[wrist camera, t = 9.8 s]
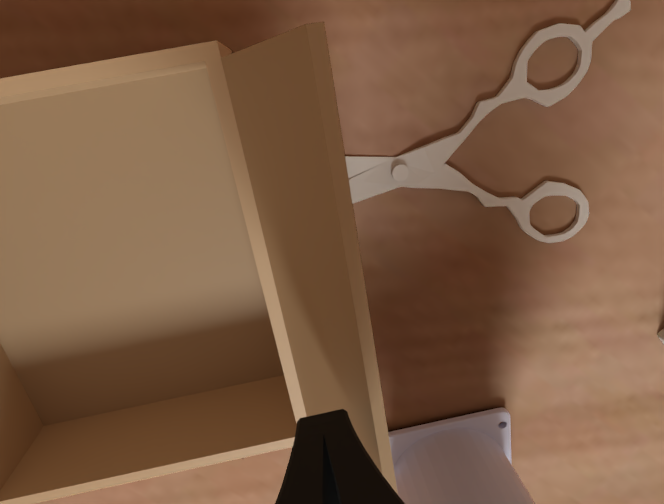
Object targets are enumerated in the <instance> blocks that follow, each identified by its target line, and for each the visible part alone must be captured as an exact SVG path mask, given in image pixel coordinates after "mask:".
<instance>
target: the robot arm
mask: <svg viewBox="0 0 664 504" xmlns="http://www.w3.org/2000/svg"><path fill="white" fill-rule="evenodd" d="M500 422H502V423H500ZM499 423H500V424H499ZM388 434H389V441H390V447H391V454H392V460H393V466H394V473H395V479H396V486H397V492H398V494H397V493H396V492H395V491H394V489H393V488H392V487H391V485H390V484H389V483H388V481H387V480H386V479H385V478H384V476H383V475H382V473H381V472H380V471H379V469H378V468H377V466H376V465H375V463H374V462H373V460H372V459H371V457H370V456H369V454H368V453H367V451H366V449H365V448H364V446H363V444H362V443H361V441H360V439H359V437H358V435H357V434H356V432H355V430H354V428H353V426H352V423H351V421H350V418H349V416H348V412H347V411H346V410H344V409H340V410H335V411H331V412H326V413H321V414H317V415H312V416H308V417H303V418H300V419H299V420H298V421H297V426H296V433H295V439H294V443H293V448H292V452H291V456H290V460H289V463H288V467H287V470H286V473H285V477H284V480H283V483H282V486H281V489H280V492H279V495H278V498H277V500H276V503H275V504H535V502H534V501H533V499H532V498H531V496H530V494H529V493H528V491H527V489H526V488H525V486H524V484H523V483H522V481H521V479H520V478H519V476H518V475H517V473H516V471H515V470H514V468H513V466H512V465H511V424H510V413H509V412H508V411H507V409H506V408H503V407H501V408H495V409H491V410H486V411H482V412H477V413H473V414H468V415H464V416H459V417H454V418H450V419H445V420H441V421H436V422H432V423H427V424H423V425H418V426H414V427H409V428H405V429H400V430H396V431H391V432H388Z"/></svg>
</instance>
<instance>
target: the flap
mask: <svg viewBox="0 0 664 504" xmlns="http://www.w3.org/2000/svg"><path fill="white" fill-rule="evenodd" d="M221 61H222V65H223V69H224V73H225V77H226V82H227V86H228V90H229V94H230V98H231V102H232V107H233V111H234V115H235V119H236V123H237V127H238V132H239V136H240V140H241V144H242V148H243V153H244V157H245V161H246V165H247V169H248V173H249V178H250V182H251V186H252V190H253V194H254V198H255V203H256V207H257V211H258V215H259V219H260V223H261V228H262V232H263V236H264V240H265V244H266V248H267V253H268V257H269V261H270V265H271V269H272V274H273V278H274V282H275V286H276V290H277V294H278V299H279V303H280V307H281V311H282V315H283V319H284V324H285V328H286V332H287V336H288V340H289V344H290V349H291V353H292V357H293V361H294V365H295V369H296V374H297V378H298V382H299V386H300V390H301V395H302V399H303V403H304V407H305V411H306V415H307V417H308V416H312V415H317V414H321V413H326V412H331V411H335V410H340V409H344V410H346V411H347V412H348V416H349V418H350V421H351V423H352V426H353V428H354V430H355V432H356V434H357V435H358V437H359V439H360V441H361V443H362V444H363V446H364V448H365V449H366V451H367V453H368V454H369V456H370V457H371V459H372V460H373V462H374V463H375V465H376V466H377V468H378V469H379V471H380V472H381V473H382V475H383V476H384V478H385V479H386V480H387V481H388V483H389V484H390V485H391V487H392V488H393V489H394V491H395V492H396V493H397V494H398V492H397V486H396V479H395V473H394V466H393V460H392V454H391V447H390V441H389V434H388V428H387V422H386V415H385V409H384V402H383V396H382V390H381V383H380V377H379V370H378V364H377V358H376V351H375V345H374V338H373V332H372V326H371V319H370V313H369V306H368V300H367V294H366V287H365V281H364V274H363V268H362V262H361V255H360V249H359V242H358V236H357V230H356V223H355V217H354V210H353V204H352V198H351V191H350V185H349V178H348V172H347V166H346V159H345V153H344V146H343V140H342V134H341V127H340V121H339V114H338V108H337V102H336V95H335V89H334V82H333V76H332V70H331V63H330V57H329V51H328V44H327V38H326V31H325V25H324V22H318V23H311V24H305V25H303V26H300V27H298V28H295V29H292V30H290V31H287V32H285V33H282V34H280V35H277V36H275V37H272V38H270V39H267V40H265V41H262V42H260V43H257V44H255V45H252V46H250V47H247V48H245V49H242V50H240V51H237V52H235V53H232V54H230V55H227V56H225V57H222V58H221Z"/></svg>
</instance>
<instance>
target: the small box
mask: <svg viewBox="0 0 664 504" xmlns="http://www.w3.org/2000/svg"><path fill="white" fill-rule="evenodd" d="M657 335H658V337H659V338H660V340H661V341H662V342H663V344H664V329H662V330H661V331H660V332H658V334H657Z"/></svg>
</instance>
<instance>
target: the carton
mask: <svg viewBox="0 0 664 504" xmlns="http://www.w3.org/2000/svg"><path fill="white" fill-rule="evenodd" d="M230 54H232V50H231V49H229V48H228V47H226V46H225V45H223V44H222V43H220V42H219V41H217V40H215V41H210V42H204V43H198V44H193V45H187V46H181V47H176V48H170V49H164V50H159V51H153V52H147V53H142V54H136V55H130V56H125V57H119V58H113V59H108V60H102V61H96V62H91V63H85V64H79V65H74V66H68V67H62V68H57V69H51V70H45V71H40V72H34V73H28V74H23V75H17V76H11V77H6V78H0V504H35V503H40V502H44V501H49V500H53V499H58V498H62V497H67V496H72V495H76V494H81V493H85V492H90V491H94V490H99V489H103V488H108V487H112V486H117V485H122V484H126V483H131V482H135V481H140V480H144V479H149V478H153V477H158V476H163V475H167V474H172V473H176V472H181V471H185V470H190V469H194V468H199V467H203V466H208V465H213V464H217V463H222V462H226V461H231V460H235V459H240V458H244V457H249V456H253V455H258V454H263V453H267V452H272V451H276V450H281V449H285V448H290V447H293V443H294V439H295V433H296V426H297V421H298V420H299V419H300V418H303V417H307V415H306V411H305V407H304V403H303V399H302V395H301V390H300V386H299V382H298V378H297V374H296V369H295V365H294V361H293V357H292V353H291V349H290V344H289V340H288V336H287V332H286V328H285V324H284V319H283V315H282V311H281V307H280V303H279V299H278V294H277V290H276V286H275V282H274V278H273V274H272V269H271V265H270V261H269V257H268V253H267V248H266V244H265V240H264V236H263V232H262V228H261V223H260V219H259V215H258V211H257V207H256V203H255V198H254V194H253V190H252V186H251V182H250V178H249V173H248V169H247V165H246V161H245V157H244V153H243V148H242V144H241V140H240V136H239V132H238V127H237V123H236V119H235V115H234V111H233V107H232V102H231V98H230V94H229V90H228V86H227V82H226V77H225V73H224V69H223V65H222V61H221V58H222V57H225V56H227V55H230Z"/></svg>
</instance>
